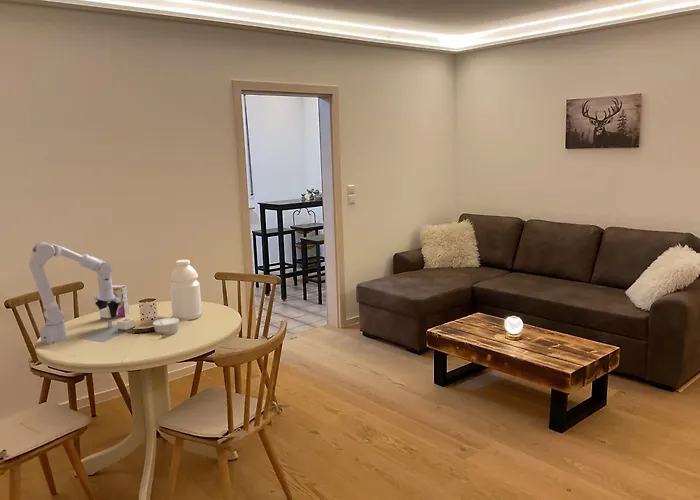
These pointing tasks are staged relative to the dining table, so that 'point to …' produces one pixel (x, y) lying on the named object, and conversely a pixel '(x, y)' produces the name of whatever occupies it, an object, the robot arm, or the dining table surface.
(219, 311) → the dining table surface
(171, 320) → the ramekin
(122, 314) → the candy bar box
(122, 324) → the seated sleeve
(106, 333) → the pin board
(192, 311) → the bottle
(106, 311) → the sleeve
